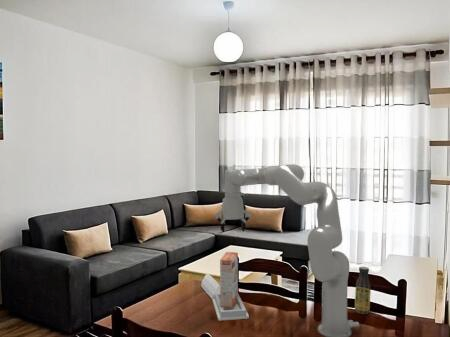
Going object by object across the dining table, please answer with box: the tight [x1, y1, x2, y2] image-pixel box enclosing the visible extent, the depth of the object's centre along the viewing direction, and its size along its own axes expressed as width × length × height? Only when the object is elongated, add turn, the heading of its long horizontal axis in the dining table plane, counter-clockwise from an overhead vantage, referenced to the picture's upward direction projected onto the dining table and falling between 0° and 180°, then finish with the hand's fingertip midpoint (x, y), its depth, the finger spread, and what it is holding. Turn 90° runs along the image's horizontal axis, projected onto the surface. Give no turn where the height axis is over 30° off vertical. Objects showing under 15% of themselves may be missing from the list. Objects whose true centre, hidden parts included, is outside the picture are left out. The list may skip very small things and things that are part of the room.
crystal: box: [200, 273, 220, 300], centre depth 201 cm, size 7×7×24 cm
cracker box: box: [219, 251, 239, 307], centre depth 179 cm, size 14×6×21 cm, turn 169°
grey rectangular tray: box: [212, 293, 250, 322], centre depth 180 cm, size 13×22×4 cm, turn 8°
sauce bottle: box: [354, 266, 372, 315], centre depth 175 cm, size 7×6×20 cm
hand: (233, 231), depth 190 cm, fingers open, 9 cm apart
